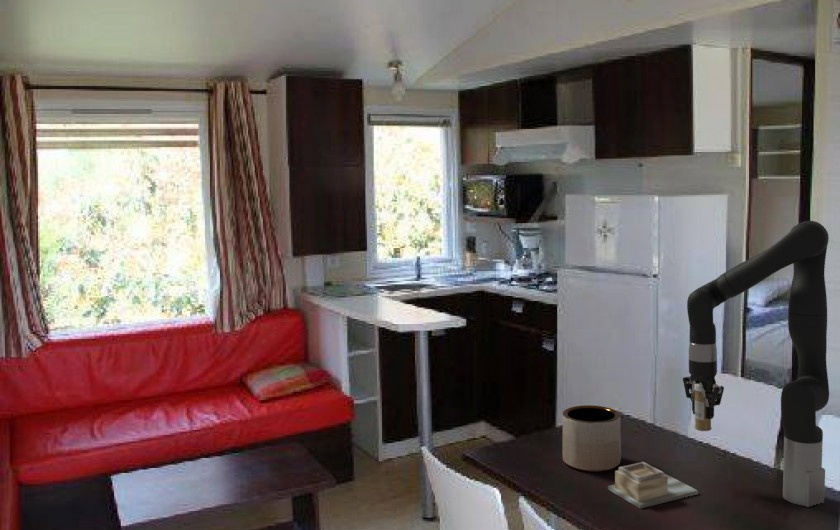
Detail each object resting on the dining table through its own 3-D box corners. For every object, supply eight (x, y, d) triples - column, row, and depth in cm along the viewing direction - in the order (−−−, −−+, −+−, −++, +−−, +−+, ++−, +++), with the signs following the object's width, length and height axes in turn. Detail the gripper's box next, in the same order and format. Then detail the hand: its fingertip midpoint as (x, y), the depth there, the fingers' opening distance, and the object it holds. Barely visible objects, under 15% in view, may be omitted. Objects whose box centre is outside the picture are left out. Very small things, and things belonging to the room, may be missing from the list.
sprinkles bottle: (714, 431, 214) (714, 384, 212) (699, 432, 213) (699, 386, 212) (706, 426, 218) (706, 380, 217) (691, 427, 217) (691, 381, 216)
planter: (622, 474, 225) (622, 423, 223) (562, 471, 228) (561, 421, 226) (619, 452, 242) (619, 405, 240) (563, 450, 246) (562, 404, 244)
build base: (698, 494, 209) (698, 469, 209) (640, 508, 202) (640, 482, 201) (663, 476, 222) (663, 452, 221) (607, 489, 215) (607, 465, 214)
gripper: (732, 361, 208) (732, 421, 210) (694, 351, 221) (695, 408, 223) (711, 364, 205) (711, 425, 207) (674, 354, 218) (675, 412, 220)
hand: (702, 416), depth 215 cm, fingers closed on sprinkles bottle, 4 cm apart
